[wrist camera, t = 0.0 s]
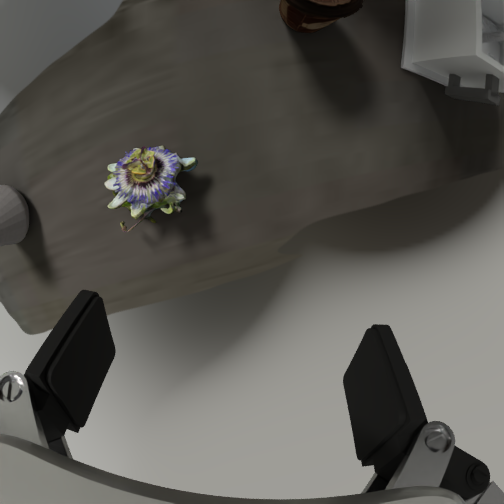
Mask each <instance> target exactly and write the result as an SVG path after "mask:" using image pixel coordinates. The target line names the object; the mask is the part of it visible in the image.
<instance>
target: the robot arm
mask: <svg viewBox="0 0 504 504" xmlns="http://www.w3.org/2000/svg"><path fill="white" fill-rule="evenodd" d="M114 356H115V345H114V342H113V338H112V335H111V331H110V327H109V324H108V320H107V316H106V312H105V307H104V303H103V299H102V298H101V297H99V294H98V293H97V292H93V291H88V290H82V291H80V293H79V294H78V295H77V297H76V298H75V299H74V301H73V302H72V303H71V305H70V306H69V307H68V309H67V310H66V311H65V313H64V314H63V316H62V317H61V318H60V320H59V321H58V323H57V324H56V326H55V327H54V328H53V330H52V331H51V333H50V334H49V336H48V337H47V339H46V340H45V342H44V343H43V345H42V346H41V348H40V349H39V351H38V352H37V354H36V356H35V357H34V359H33V360H32V362H31V363H30V365H29V366H28V368H27V370H26V372H25V374H24V376H23V375H22V374H21V373H19V372H16V371H10V372H6V373H4V374H3V375H1V376H0V504H504V493H503V492H502V490H501V489H500V488H499V487H498V486H497V485H496V484H495V483H494V482H493V481H492V482H491V483H490V482H489V481H490V473H489V469H488V468H487V466H486V465H485V464H484V463H483V462H481V461H480V460H478V459H476V458H475V457H473V456H471V455H470V454H468V453H466V452H464V451H463V450H461V449H459V448H458V447H456V446H454V444H455V437H454V434H453V432H452V430H451V429H450V427H449V426H447V425H446V424H445V423H442V422H440V421H432V422H429V423H428V421H427V418H426V415H425V412H424V409H423V406H422V404H421V401H420V398H419V395H418V393H417V390H416V387H415V385H414V382H413V380H412V377H411V374H410V372H409V369H408V367H407V365H406V363H405V361H404V359H403V356H402V354H401V351H400V348H399V346H398V344H397V341H396V339H395V337H394V334H393V332H392V330H391V328H390V326H388V325H376V324H375V325H373V326H372V327H371V328H369V329H367V330H366V332H365V334H364V337H363V339H362V341H361V343H360V345H359V347H358V349H357V351H356V353H355V355H354V357H353V359H352V361H351V363H350V365H349V367H348V369H347V371H346V372H345V374H344V378H343V384H344V389H345V395H346V399H347V404H348V410H349V415H350V420H351V425H352V431H353V437H354V443H355V449H356V454H357V458H358V460H361V462H362V466H370V465H374V469H375V473H374V475H373V477H372V478H371V480H370V481H369V483H368V484H367V486H366V487H365V489H364V490H363V492H362V493H361V494H355V495H347V496H337V497H327V498H314V499H289V500H288V499H287V500H275V499H274V500H273V499H246V498H245V499H244V498H232V497H222V496H213V495H205V494H198V493H192V492H186V491H180V490H175V489H169V488H165V487H160V486H156V485H152V484H148V483H144V482H140V481H136V480H132V479H129V478H125V477H122V476H118V475H115V474H112V473H109V472H106V471H103V470H100V469H97V468H95V467H92V466H89V465H86V464H84V463H81V462H78V461H76V460H73V458H72V455H71V453H70V451H69V448H68V445H67V442H66V439H65V436H64V434H65V432H66V429H69V430H71V431H74V432H77V433H78V432H79V429H80V427H84V425H85V423H86V421H87V419H88V416H89V414H90V412H91V409H92V407H93V404H94V402H95V399H96V397H97V395H98V393H99V390H100V388H101V386H102V383H103V381H104V379H105V376H106V374H107V372H108V370H109V368H110V365H111V363H112V361H113V359H114Z"/></svg>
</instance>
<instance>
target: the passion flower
mask: <svg viewBox="0 0 504 504" xmlns="http://www.w3.org/2000/svg"><path fill="white" fill-rule="evenodd" d="M130 151H131V150H130ZM125 152H126V151H125ZM126 153H127V152H126ZM125 156H126V157H124V158H123V159H120V161H118V163H114V164H110V165H108V170H109V171H111V172H112V173H113V174H112V173H111V174H110V175H109V176H108V180H107V181H106V182H105V186H106V187H107V188H108V189H109V190H111V191H113V194H114V196H115V198H114V199H113V202H111V203H110V204H109V205H108V208H109V209H117V208H120V207H126V208H128V209H129V210H130V211H131V215H132V217H133V218H135V219H137V218H138V217H139V216H140V215H142V214H144V217H143V218H142V219H141V220H140V221H138V222H137V224H136V225H134V226H133V227H132V228H131V229H129V230H128V231H130V230H132V229H133V228H134V227H135V226H137V225H138V224H139V223H140V222H141V221H142V220H143V219H148V220H150V221H151V222H153V223H156V221H155V220H154V219H153V218H152V217H151V216H150V214H151V213H152V212H153V211H154V210H156V209H159V208H161V210H162V211H163V212H165V213H167V214H172V213H174V211H176V212H178V213H181V212H182V208H181V207H180V202H181V201H182V200H185V199H186V193H185V191H184V190H183V189H182V188H181V187H180V186H179V185H178V184H177V182H176V176H177V175H178V173H179V172H181V171H188V172H189V171H191V170H193V169H195V168H196V166H197V164H198V161H197V160H196V158H183V159H181V158H180V157H179V156H178V153H174V154H173V153H172V152H171V151H169V150H168V149H165V148H164V146H159V147H158V146H157V147H154V148H151V147H149V148H146V147H145V146H143V147H142V148H141V149H139V148H135V149H134V150H133V151H131V152H130V154H128V153H127V154H126V155H125ZM168 204H170V205H168ZM173 204H175V205H176V207H175V206H174V205H173ZM164 207H167V208H168V209H167V208H164ZM148 208H153V209H151V210H150V211H149V210H148ZM124 223H125V222H124V221H123V222H121V223H120V225H121V227H122V230H123V232H128V231H126V229H127V227H126V226H125V225H124Z"/></svg>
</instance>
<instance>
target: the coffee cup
mask: <svg viewBox="0 0 504 504" xmlns="http://www.w3.org/2000/svg"><path fill="white" fill-rule="evenodd" d="M362 3H363V0H281V2H280V5H279V11H280V14H281V17H282V19H283V20H284V21H285V23H286V24H287V25H288V26H290V27H291V28H292V29H294V30H295V31H298V32H305V33H313V32H316V31H318V30H320V29H322V28H324V27H325V26H327V25H329V24H331V23H333V22H335V21H336V20H338V19H340V18H342V17H344V18H345V17H347V16H350V15H352V14H354V13H355V12H357V11H358V10H359V8H362Z"/></svg>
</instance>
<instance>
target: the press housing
mask: <svg viewBox="0 0 504 504" xmlns="http://www.w3.org/2000/svg"><path fill="white" fill-rule="evenodd" d="M482 16H484V17H485V18H487V19H488V20H490V21H491V22H492V23H494V24H495V25H497V26H498V27H499V28H500V31H504V0H406V4H405V25H404V39H403V50H402V60H401V68H402V69H405V70H408V71H410V72H413V73H416V74H418V75H421V76H423V77H426V78H428V79H430V80H433V81H435V82H437V83H440V84H442V85H444V86H445V95H447V96H450V97H452V98H454V99H458V100H466V101H473V102H480V103H486V104H492V105H497V106H499V103H500V96H499V95H498V92H503V93H504V41H502V42H500V63H498V62H497V61H495V60H494V59H492V58H491V57H489V56H488V55H486V54H485V53H483V52H482Z"/></svg>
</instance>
